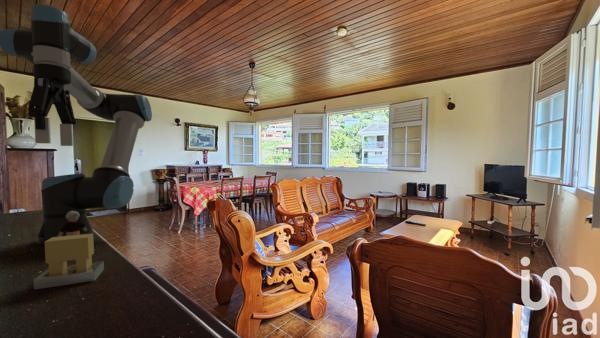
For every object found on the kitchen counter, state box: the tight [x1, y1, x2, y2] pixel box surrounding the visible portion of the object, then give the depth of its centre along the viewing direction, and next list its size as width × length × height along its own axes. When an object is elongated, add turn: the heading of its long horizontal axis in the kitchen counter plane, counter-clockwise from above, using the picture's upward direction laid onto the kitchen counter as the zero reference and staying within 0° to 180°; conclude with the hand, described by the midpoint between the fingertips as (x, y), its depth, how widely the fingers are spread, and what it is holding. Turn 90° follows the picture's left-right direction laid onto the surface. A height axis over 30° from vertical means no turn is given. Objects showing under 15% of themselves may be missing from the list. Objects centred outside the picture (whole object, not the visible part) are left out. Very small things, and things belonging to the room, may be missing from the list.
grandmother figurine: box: [57, 211, 87, 237], centre depth 83 cm, size 8×4×13 cm, turn 168°
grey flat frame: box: [33, 260, 105, 290], centre depth 64 cm, size 7×11×2 cm, turn 112°
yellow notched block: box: [44, 233, 95, 276], centre depth 63 cm, size 4×8×10 cm, turn 112°
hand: (56, 144), depth 73 cm, fingers open, 13 cm apart
